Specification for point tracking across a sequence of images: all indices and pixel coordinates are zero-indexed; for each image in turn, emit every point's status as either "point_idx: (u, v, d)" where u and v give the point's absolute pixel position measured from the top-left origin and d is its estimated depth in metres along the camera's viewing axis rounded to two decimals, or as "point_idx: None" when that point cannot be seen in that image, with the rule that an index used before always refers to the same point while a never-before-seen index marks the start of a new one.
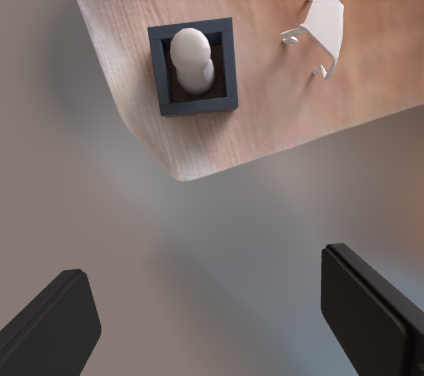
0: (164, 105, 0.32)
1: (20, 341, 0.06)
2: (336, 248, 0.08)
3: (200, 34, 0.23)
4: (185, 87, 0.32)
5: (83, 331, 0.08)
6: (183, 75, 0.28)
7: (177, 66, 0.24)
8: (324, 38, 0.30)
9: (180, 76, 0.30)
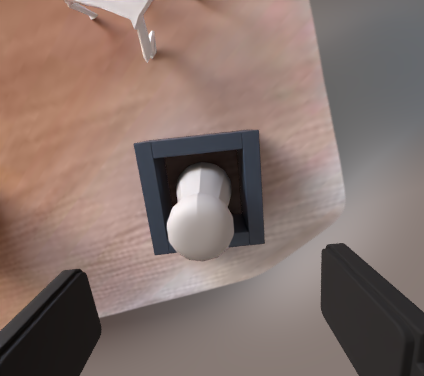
0: (251, 238, 0.22)
1: (20, 341, 0.06)
2: (336, 248, 0.08)
3: (176, 216, 0.14)
4: None
5: (83, 331, 0.08)
6: None
7: (224, 250, 0.15)
8: None
9: None
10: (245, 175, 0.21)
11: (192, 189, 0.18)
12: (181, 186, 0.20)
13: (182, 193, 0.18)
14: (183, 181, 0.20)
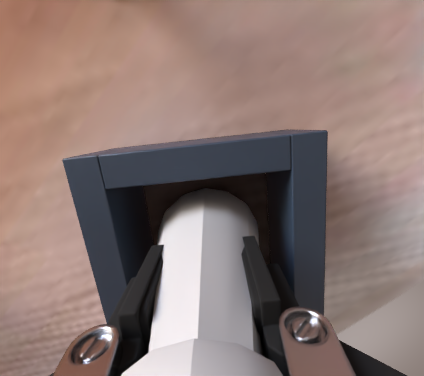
0: None
1: (150, 294, 0.07)
2: (245, 239, 0.09)
3: None
4: None
5: None
6: None
7: None
8: None
9: None
10: (293, 222, 0.10)
11: (183, 277, 0.07)
12: (162, 251, 0.09)
13: (159, 282, 0.08)
14: (168, 238, 0.10)
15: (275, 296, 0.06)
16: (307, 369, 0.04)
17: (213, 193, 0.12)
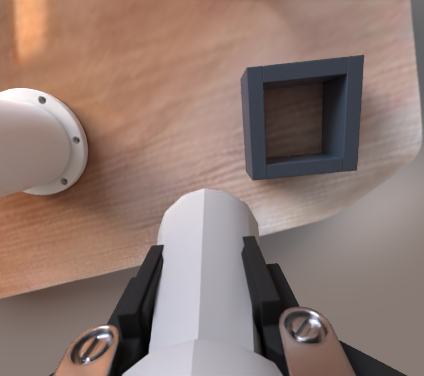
0: (344, 164, 0.24)
1: (150, 294, 0.07)
2: (245, 239, 0.09)
3: None
4: None
5: None
6: None
7: None
8: None
9: None
10: (346, 100, 0.22)
11: (183, 277, 0.07)
12: (162, 251, 0.09)
13: (160, 282, 0.08)
14: (168, 238, 0.10)
15: (275, 296, 0.06)
16: (307, 369, 0.04)
17: (213, 193, 0.12)
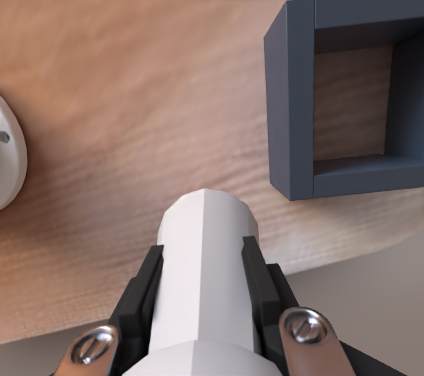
0: None
1: (150, 294, 0.07)
2: (245, 239, 0.09)
3: None
4: None
5: None
6: None
7: None
8: None
9: None
10: None
11: (183, 278, 0.07)
12: (162, 252, 0.09)
13: (159, 283, 0.08)
14: (168, 238, 0.10)
15: (275, 296, 0.06)
16: (307, 369, 0.04)
17: (213, 193, 0.12)
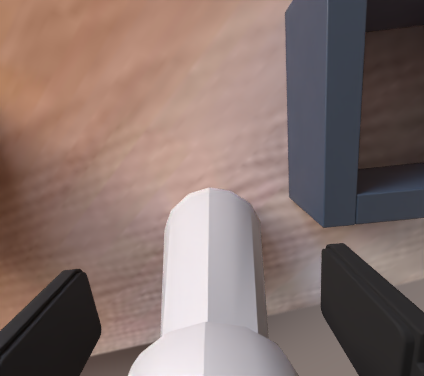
0: None
1: (20, 341, 0.06)
2: (336, 248, 0.08)
3: None
4: None
5: (83, 331, 0.08)
6: None
7: None
8: None
9: None
10: None
11: (191, 270, 0.08)
12: (170, 247, 0.10)
13: (169, 275, 0.08)
14: (175, 235, 0.10)
15: None
16: None
17: (217, 192, 0.13)
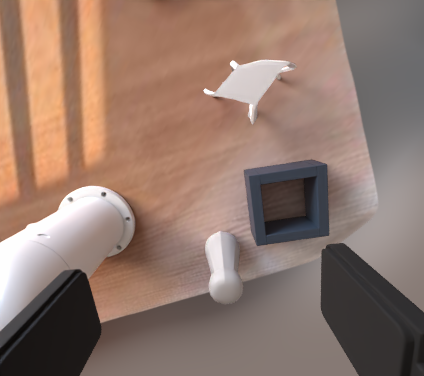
0: (320, 232, 0.34)
1: (20, 341, 0.06)
2: (336, 248, 0.08)
3: (214, 284, 0.28)
4: None
5: (83, 331, 0.08)
6: None
7: (238, 298, 0.29)
8: (266, 81, 0.29)
9: None
10: (317, 192, 0.33)
11: (218, 260, 0.32)
12: (210, 254, 0.34)
13: (212, 261, 0.32)
14: (211, 250, 0.34)
15: None
16: None
17: (223, 234, 0.37)
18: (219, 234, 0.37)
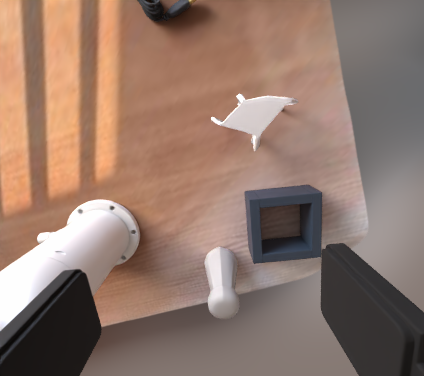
0: (313, 254, 0.37)
1: (20, 341, 0.06)
2: (336, 248, 0.08)
3: (213, 301, 0.30)
4: None
5: (83, 331, 0.08)
6: None
7: (234, 314, 0.31)
8: (270, 115, 0.32)
9: None
10: (312, 217, 0.35)
11: (217, 276, 0.34)
12: (210, 270, 0.36)
13: (212, 277, 0.35)
14: (211, 266, 0.37)
15: None
16: None
17: (222, 250, 0.39)
18: (219, 250, 0.39)
